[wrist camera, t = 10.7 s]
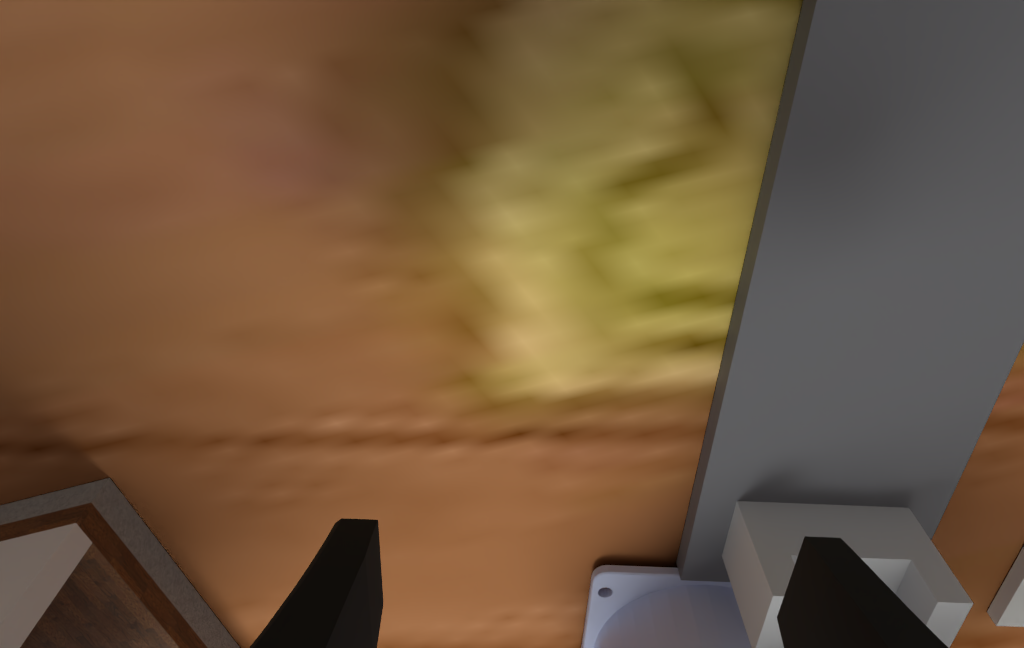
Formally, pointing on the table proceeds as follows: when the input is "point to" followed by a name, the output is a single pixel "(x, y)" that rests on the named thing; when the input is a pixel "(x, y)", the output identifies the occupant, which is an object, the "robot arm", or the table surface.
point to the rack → (869, 304)
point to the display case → (94, 578)
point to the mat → (1010, 597)
